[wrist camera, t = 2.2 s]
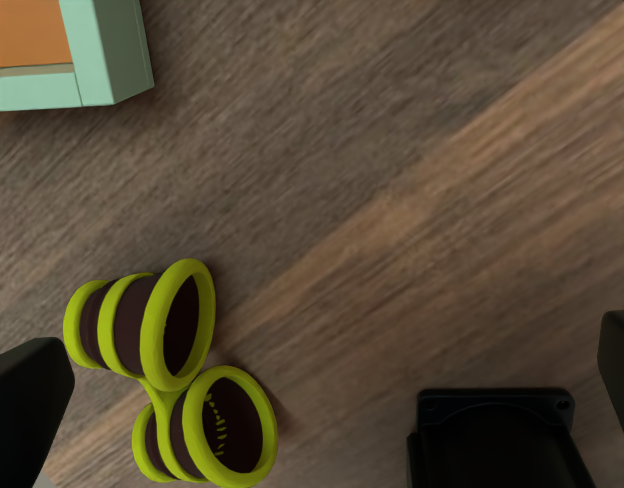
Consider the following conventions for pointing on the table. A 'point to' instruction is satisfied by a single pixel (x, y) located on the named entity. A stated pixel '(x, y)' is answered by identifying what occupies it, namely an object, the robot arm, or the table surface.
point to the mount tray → (71, 53)
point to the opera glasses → (175, 376)
